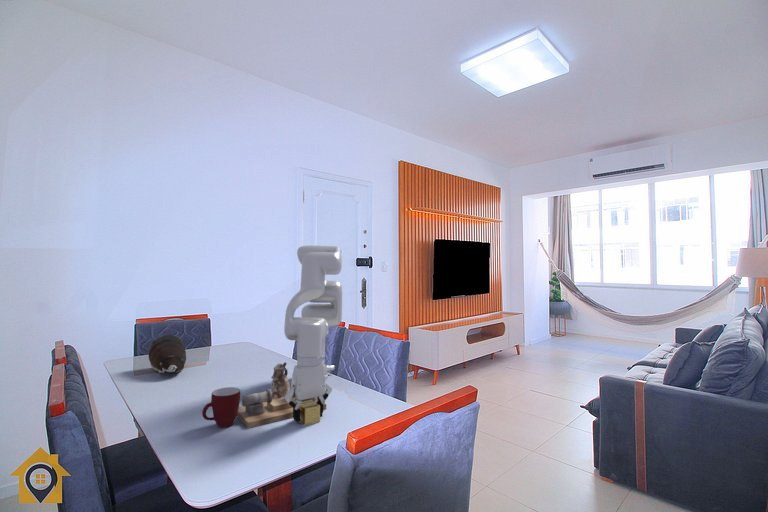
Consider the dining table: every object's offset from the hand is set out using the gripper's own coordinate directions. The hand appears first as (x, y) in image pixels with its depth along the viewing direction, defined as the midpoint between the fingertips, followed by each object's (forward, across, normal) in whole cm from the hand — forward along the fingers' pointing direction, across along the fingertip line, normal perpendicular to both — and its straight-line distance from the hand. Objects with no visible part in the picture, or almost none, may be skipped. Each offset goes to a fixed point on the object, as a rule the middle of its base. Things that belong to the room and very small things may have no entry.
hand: (308, 417), depth 117 cm
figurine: (+1, -1, -26) cm, 26 cm away
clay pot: (+1, +28, -83) cm, 88 cm away
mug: (+1, +23, -11) cm, 26 cm away
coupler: (+1, 0, 0) cm, 1 cm away
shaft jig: (+1, +4, -12) cm, 13 cm away
